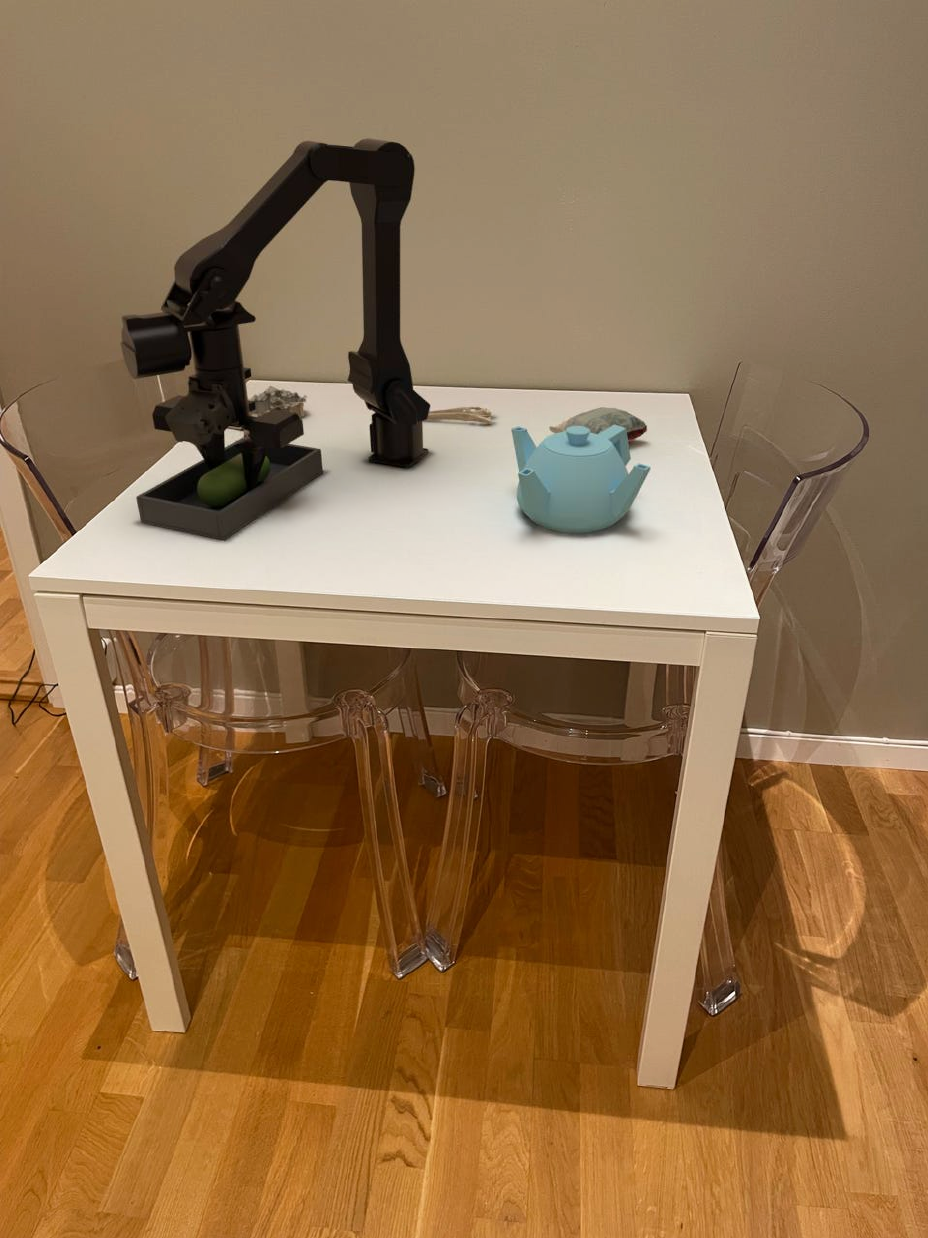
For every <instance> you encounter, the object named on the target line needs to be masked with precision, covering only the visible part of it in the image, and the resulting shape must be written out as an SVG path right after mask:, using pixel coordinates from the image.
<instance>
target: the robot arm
mask: <svg viewBox="0 0 928 1238" xmlns="http://www.w3.org/2000/svg"><path fill="white" fill-rule="evenodd" d="M415 167H416V166H415V160H414V157H413V155H412V154H411V153H410V152H409V150H408V149H407V148H406V147H405V146H404V144H403V145H402V144H401V143H399V142H396V141H390V140H383V139H376V138H363V139H361V140H359V141H357V142H356V143H355V144H354V145H353V146H348V145H341V144H340V145H339V144H328V143H325V142H320V141H313V140H304V141H301V142H300V143H299V144H297V146H296V147H295V149H294V150H293V153H292V154H291V155H290V156H289V157H288V158H287V160H286V161H285V162H284V163H283V164H282V165H281V166H280V167H279V168H278V170H276V171H275V173H274V174H273V175H272V176H271V177H270V178H269V179H268V180H267V181H266V183H265V184H264V185H262V187H261V188H260V189H259V190H258V191H257V192H256V193H255V194H254V195H253V197H252V198H250V200H249V201H248V202H247V203H246V204H245V206H243V207H242V209H240V211H239V212H237V214H236V215H235V216H234V217H233V218H232V219H231V220H230V222H229V223H228V224H226V225H225V226H223V227H222V228H220V229H219V230H216V231H215V232H213V233H211V234H209V235H208V236H205V237H204V238H201V240H199V241H198V242H196V243H195V244H194V245H193V246H191V247H190V248H188V249H187V250H185V251H184V252H183V253H182V254H181V255H180V256H179V257H178V259H177V260H176V261H175V264H174V267H173V270H174V281H173V283H172V285H171V287H170V289H169V290H168V292H167V295H166V296H165V298H164V301H163V303H162V305H161V307H160V310H161V312H154V313H147V314H126V315H122V316H121V321H122V322H121V323H122V328H121V342H120V348H121V349H120V350H121V354H122V357H123V360H124V363H125V366H126V369H127V371H128V373H129V374H130V377H131V378H132V379H133V380H138V379H144V378H149V377H156V376H161V375H167V374H173V373H179V372H183V371H185V370H186V367H187V366H191V360H192V361H193V367H194V373H193V374H192V375H190V376H188V381H187V386H188V392H187V394H186V395H179V394H178V395H176V396H174V397H173V396H172V397H171V398H169V399H167V400H165V401H163V402H160V403H158V404H157V405H156V404H155V407H154V408H153V411H152V413H151V417H152V422H153V427H154V430H157V431H158V430H159V431H164V432H169V433H172V436H173V437H174V440H175V441H176V442H178V443H183V442H185V443H190V444H192V445H193V446H194V447H195V448H196V449H197V451H198V452H199V454H200V455H201V457H202V460H203V459H204V460H205V462H206V464H207V466H208V468H209V469H210V471H211V470H213V469H215V468H216V467H218V466H220V465H221V464H223V463H225V447H226V441H225V440H226V439H225V437H226V436H225V432H226V430H232V431H240V432H243V437H244V440H242V441H241V442H239V443H237V444H235V445H234V446H235V448H237V449H238V450H239V451H240V452H241V454H242V459H243V466H244V473H245V480H246V484H247V487H248V489H249V490H252V489H254V488H255V486H256V483H257V480H258V477H259V474H260V471H261V468H262V465H263V462H264V459H265V457H266V454H267V452H268V450H269V448H270V449H279V448H282V447H284V446H286V445H287V444H291V443H292V442H294V441H296V440H298V439H299V438H300V437H303V436H304V435H305V431H304V422H303V419H302V417H300V416H299V415H298V414H297V413H293V412H286V411H280V410H271V411H269V412H267V413H266V414H264V415H262V416H260V417H254V416H250V412H251V411H253V410H255V409H256V407H255V401H249V400H248V399H249V397H248V389H247V388H248V387H247V382H246V380H247V379H249V378H251V377H252V368H251V367H244V359H243V349H242V344H241V335H240V327H239V325H245V324H252V323H255V322H256V320H257V318H256V316H255V315H254V314H252V313H250V312H249V311H248V310H247V309H246V308H245V307H244V306H243V304H242V303H241V302H240V301H238V300H237V298H238V297H239V295H240V294H241V292H242V291H243V289H244V287H246V284H247V283H248V281H249V280H250V278H251V275H252V273H253V269H254V267H255V263H256V261H257V259H258V258H259V256H260V255H261V253H262V252H263V251H264V250H265V249H266V247H267V246H268V245H269V244H270V243H271V242H272V241H273V240H274V239H275V237H277V236H278V234H279V233H280V232H282V230H283V229H284V227H286V226H287V224H289V223H290V222H291V220H292V219H293V218H294V217H295V216H296V215H297V213H298V212H300V210H302V208H303V207H304V206H305V205H306V204H307V203H308V202H309V201H310V200H311V198H312V197H313V196H314V195H315V194H316V193H317V192H318V191H319V190H320V189H321V188H322V186H323V185H324V184H325V183H327V182H328V181H330V182H331V181H333V182H341V183H342V182H343V183H344V182H345V183H349V184H348V185H349V188H350V189H349V190H350V195H351V197H352V201H353V203H354V206H355V207H356V211H357V213H358V215H359V218H360V222H361V256H362V257H361V259H362V263H361V266H362V270H361V271H362V314H363V318H362V319H363V320H362V321H363V322H362V323H363V336H362V337H363V338H362V341H361V342H360V346H359V348H358V349H357V351H355V350H354V351H353V350H352V351H351V350H350V351H348V352H347V358H348V359H347V360H348V364H349V365H348V366H349V372H348V377H347V382H349V383H351V385H352V390H353V392H354V393H355V394H356V396H358V397H359V398H360V399H361V400H362V401H364V403H365V404H364V405H365V406H366V408H367V410H369V411H372V412H374V413H372V414H371V423H370V424H369V425H368V426H369V442H370V452H371V453H372V454H370V455H369V456H368V457H367V460H368V462H372V463H378V464H383V465H390V466H396V467H402V468H411V467H412V466H414V465H415V464H416V463H417V462H419V461H420V460H421V459H422V458H424V457H425V456H426V455H428V454H429V453H430V452H429V448H426V447H424V433H423V432H424V431H423V429H424V428H423V427H424V425H423V422H424V421H427V417H428V414H429V411H430V410H431V403H429V402H428V401H427V400H426V399H424V398H423V396H421V395H420V394H419V393H418V392H417V391H416V390H415V389H414V383H413V377H412V369H411V365H410V362H409V359H408V357H407V354H406V352H405V349H404V346H403V344H402V340H401V339H402V338H401V225H402V221H403V218H404V216H405V214H406V211H407V209H408V206H409V204H410V202H411V200H412V194H413V187H414V179H415V171H416V168H415Z"/></svg>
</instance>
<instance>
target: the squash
mask: <svg viewBox="0 0 928 1238" xmlns="http://www.w3.org/2000/svg"><path fill="white" fill-rule="evenodd" d="M269 472H270V462H269V459H268V458H267V456H266V457H265V459H264V462H263V465H262V468H261V471H260V474H259V477H258V480H257V483H256V485H257V484H259V483H260V482H262V481H263V480H265V479H266V478H267V476H268V475H269ZM248 490H249V489H248V487H247V484H246V480H245V473H244V466H243V459H242V454H239V455H237V456H235V457H234V458H232V459H230V460H228V461H227V462H225V463H223V464H221V465H220V466H218V467H216V468H215V469H213V470H211V471H209V472H208V473H206V474H204V475H203V476H202V477H201V478H200V480H199V482H198V485H197V492H198V495H199V497H200V499H201V500H202V501H203V502H204V503H205V504H207V505H209V506H211V507H221V506H223V505H226V504H227V503H229V502H230V501H232V500H233V499H235V498H237V497H238V496H240V495H241V494H243V493H245V492H246V491H248Z"/></svg>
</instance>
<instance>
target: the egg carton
mask: <svg viewBox="0 0 928 1238" xmlns="http://www.w3.org/2000/svg"><path fill="white" fill-rule="evenodd" d="M307 398H308V396H307V394H306V395H303V396H301V395H299V393H298V392H297V391H295V392H292V391H290V390H285V389H283V388H282V389H279V388H277V387H275V386H272V385H270V386H268V387H267V388H266V389H265V390H263V392H260V393H258V395H257V394H254V395H253V396H252V397H251V398H248V400H249V401H255V407H256V409H255V410H253V411H251V412H250V416H254V417H260V416H262V415H264V414H266V413H267V412H269V411H271V410H280V411H286V412H293V413H297V414H298V415H299V416H300V417H301V418H304V417H305V416H306V415H305V410H304V406H305V405H304V404H305V403H307Z"/></svg>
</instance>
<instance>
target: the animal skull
mask: <svg viewBox="0 0 928 1238" xmlns="http://www.w3.org/2000/svg"><path fill="white" fill-rule="evenodd" d="M427 420H429V421H430V420H438V421H439V420H441V421H444V420H445V421H447V420H448V421H462V422H476V423H482V424H489V425H491V424H492V411H491V410H489V409H488V408H487V407H486V408H484V407H480V406H458V407H453V408H445V409H436V410H431V411H430V410H429V414H428V417H427ZM427 420H426V421H427Z"/></svg>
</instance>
